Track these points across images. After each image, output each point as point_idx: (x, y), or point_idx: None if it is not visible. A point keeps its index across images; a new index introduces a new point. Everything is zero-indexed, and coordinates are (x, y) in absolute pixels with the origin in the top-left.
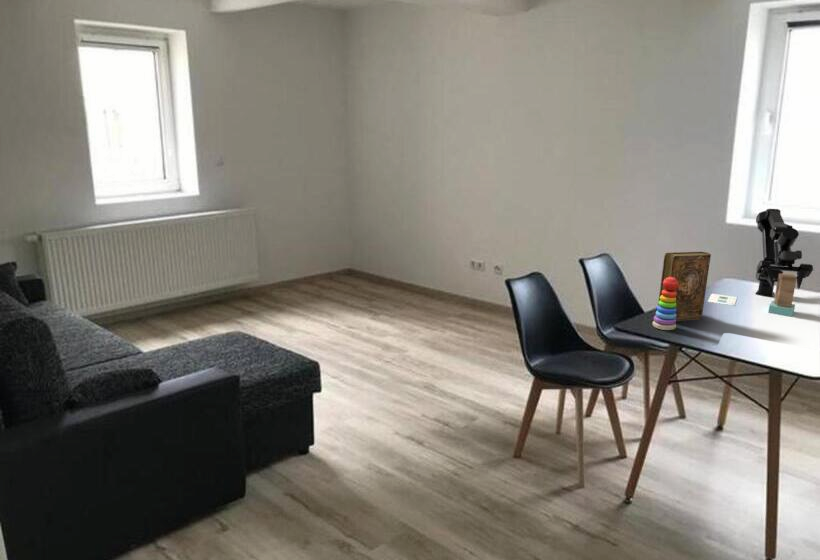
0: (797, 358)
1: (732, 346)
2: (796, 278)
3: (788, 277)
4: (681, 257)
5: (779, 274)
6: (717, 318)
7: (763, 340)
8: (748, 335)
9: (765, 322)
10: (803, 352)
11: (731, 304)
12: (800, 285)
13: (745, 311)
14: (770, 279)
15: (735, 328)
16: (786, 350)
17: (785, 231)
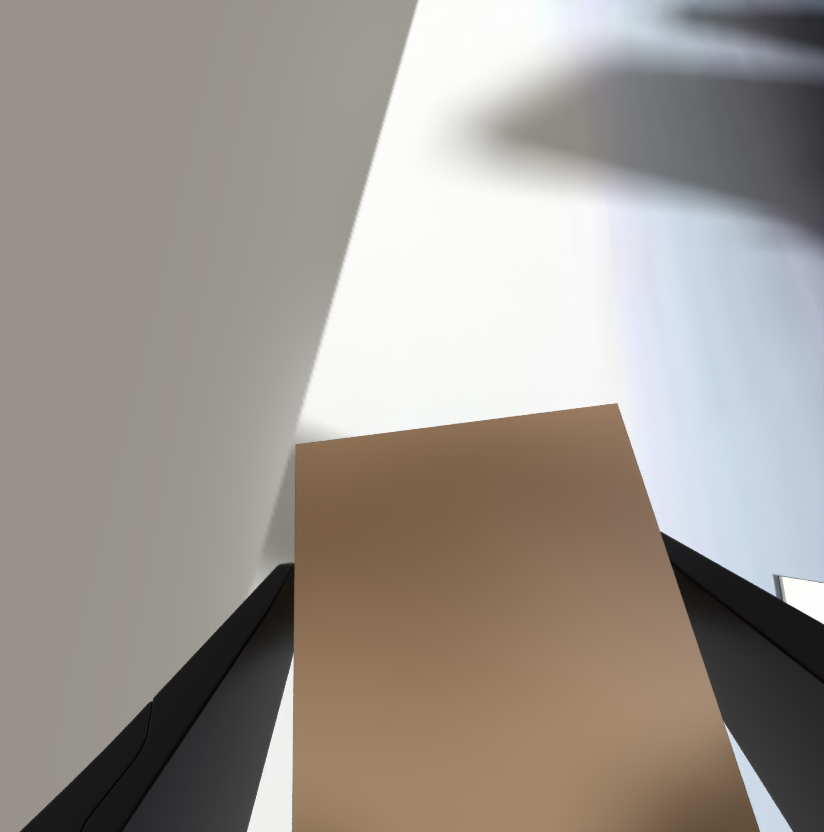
0: (454, 13)
1: (644, 6)
2: (305, 450)
3: (470, 423)
4: None
5: (709, 703)
6: (788, 248)
7: (550, 88)
8: (606, 108)
9: (546, 291)
10: (429, 55)
11: (812, 602)
12: (256, 589)
13: (674, 457)
14: (776, 597)
15: (669, 155)
16: (479, 47)
17: None
